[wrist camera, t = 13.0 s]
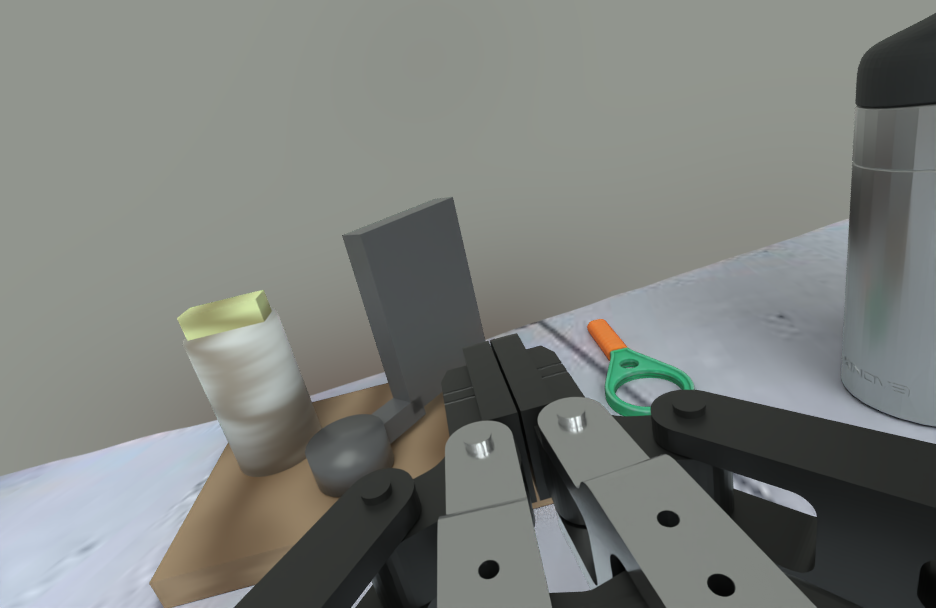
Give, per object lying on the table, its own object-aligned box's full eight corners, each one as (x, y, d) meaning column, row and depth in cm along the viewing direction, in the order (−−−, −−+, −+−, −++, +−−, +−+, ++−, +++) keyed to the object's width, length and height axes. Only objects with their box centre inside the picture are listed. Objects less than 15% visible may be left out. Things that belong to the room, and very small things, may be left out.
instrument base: (519, 370, 43) (488, 219, 39) (581, 495, 28) (543, 274, 24) (249, 440, 42) (183, 294, 38) (165, 609, 27) (38, 400, 23)
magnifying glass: (714, 415, 33) (712, 393, 32) (625, 435, 33) (623, 414, 32) (629, 328, 47) (627, 312, 47) (567, 342, 47) (564, 326, 47)
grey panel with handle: (459, 358, 43) (419, 200, 38) (506, 367, 40) (469, 195, 35) (302, 482, 32) (216, 278, 27) (350, 507, 28) (264, 281, 24)
